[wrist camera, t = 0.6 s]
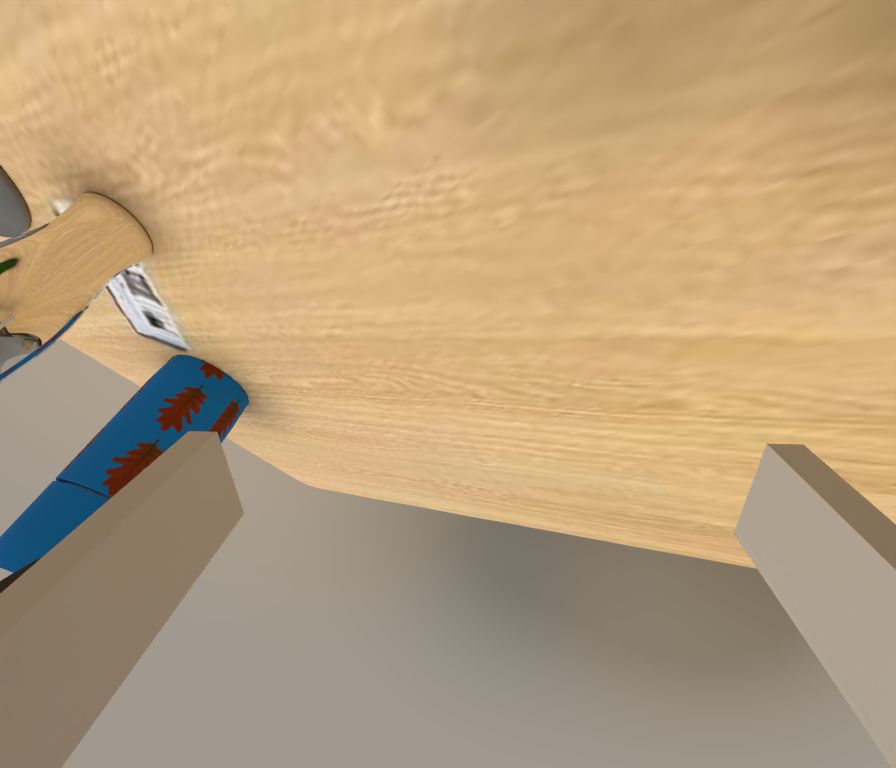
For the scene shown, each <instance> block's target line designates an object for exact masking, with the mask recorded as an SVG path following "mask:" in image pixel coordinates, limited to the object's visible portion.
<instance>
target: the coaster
mask: <svg viewBox="0 0 896 768" xmlns="http://www.w3.org/2000/svg"><path fill="white" fill-rule="evenodd" d="M30 225H31V216H30V212H29V209H28V207H27V205H26V202H25V200H24V199H23V197H22V195H21V193H20V192H19V190H18V189H17V187H16V186H15V184H14V183H13V182H12V180H11V179H10V178H9V176H8V175H7V174H6V173H5V171H4V170H3V169H2V168H1V167H0V236H3V237H16V236H19V235H20V234H22V233H24V232H25V231H27V230H28V229H29V228H30Z"/></svg>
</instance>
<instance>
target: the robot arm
mask: <svg viewBox="0 0 896 768" xmlns="http://www.w3.org/2000/svg"><path fill="white" fill-rule="evenodd" d="M243 514H244V512H243V509H242V506H241V503H240V500H239V497H238V494H237V491H236V488H235V485H234V482H233V479H232V475H231V473H230V469H229V466H228V464H227V460H226V457H225V454H224V451H223V448H222V445H221V442H220V439H219V436H218V433H217V432H204V431H188V432H187V433H186V434H185V435H184V436H183V437H181V438H180V439H179V440H178V441H177V442H176V443H174V444H173V445H172V446H171V447H170V448H169V449H168V450H166V451H165V452H164V453H163V454H162V455H161V456H159V457H158V458H157V459H156V460H155V461H154V462H152V463H151V464H150V465H149V466H148V467H147V468H145V469H144V470H143V471H142V472H141V473H140V474H139V475H137V476H136V477H135V478H134V479H133V480H132V481H130V482H129V483H128V484H127V485H126V486H125V487H123V488H122V489H121V490H120V491H119V492H118V493H116V494H115V495H114V496H113V497H112V498H111V499H109V500H108V501H107V502H106V503H105V504H104V505H103V506H101V507H100V508H99V509H98V510H97V511H96V512H94V513H93V514H92V515H91V516H90V517H89V518H87V519H86V520H85V521H84V522H83V523H82V524H80V525H79V526H78V527H77V528H76V529H75V530H73V531H72V532H71V533H70V534H69V535H68V536H67V537H65V538H64V539H63V540H62V541H61V542H60V543H58V544H57V545H56V546H55V547H54V548H53V549H51V550H50V551H49V552H48V553H47V554H46V555H44V556H43V557H42V558H38V559H36V560H34V561H33V562H31V563H29V564H28V565H26V566H25V567H23V568H21V569H20V570H18V571H16V572H15V573H13V574H11V575H10V576H8V577H6V578H5V579H3V580H1V581H0V768H61V767H62V766H63V765H64V764H65V762H66V761H67V759H68V758H69V756H70V755H71V754H72V752H73V751H74V750H75V748H76V747H77V746H78V744H79V743H80V741H81V740H82V739H83V737H84V736H85V734H86V733H87V732H88V730H89V729H90V727H91V726H92V725H93V723H94V722H95V720H96V719H97V718H98V716H99V715H100V713H101V712H102V711H103V709H104V708H105V707H106V705H107V704H108V702H109V701H110V700H111V698H112V697H113V695H114V694H115V693H116V691H117V690H118V688H119V687H120V686H121V684H122V683H123V681H124V680H125V679H126V677H127V676H128V675H129V673H130V672H131V670H132V669H133V668H134V666H135V665H136V663H137V662H138V660H139V659H140V658H141V656H142V655H143V654H144V652H145V651H146V649H147V648H148V647H149V645H150V644H151V642H152V641H153V640H154V638H155V637H156V635H157V634H158V633H159V631H160V630H161V628H162V627H163V626H164V624H165V623H166V622H167V620H168V619H169V617H170V616H171V615H172V613H173V612H174V610H175V609H176V608H177V606H178V605H179V603H180V602H181V601H182V599H183V598H184V597H185V595H186V594H187V592H188V591H189V590H190V588H191V587H192V585H193V584H194V583H195V581H196V580H197V579H198V577H199V576H200V574H201V573H202V571H203V570H204V569H205V567H206V566H207V565H208V563H209V562H210V560H211V559H212V558H213V556H214V555H215V553H216V552H217V551H218V549H219V548H220V546H221V545H222V544H223V542H224V541H225V540H226V538H227V537H228V535H229V534H230V533H231V531H232V530H233V528H234V527H235V526H236V524H237V523H238V521H239V520H240V519H241V517H242V516H243ZM734 535H735V536H736V538H737V539H738V541H739V542H740V544H741V545H742V547H743V548H744V550H745V551H746V553H747V554H748V556H749V557H750V558H751V560H752V561H753V563H754V564H755V566H756V567H757V569H758V570H759V572H760V573H761V575H762V576H763V578H764V579H765V581H766V582H767V584H768V585H769V586H770V588H771V590H772V591H773V592H774V594H775V595H776V597H777V598H778V600H779V601H780V602H781V604H782V606H783V607H784V609H785V610H786V612H787V613H788V615H789V616H790V618H791V619H792V621H793V622H794V624H795V625H796V627H797V628H798V630H799V631H800V632H801V634H802V635H803V637H804V638H805V640H806V641H807V643H808V644H809V646H810V647H811V649H812V650H813V652H814V653H815V655H816V656H817V658H818V659H819V661H820V662H821V664H822V665H823V666H824V668H825V669H826V671H827V672H828V674H829V675H830V677H831V678H832V680H833V681H834V683H835V684H836V686H837V687H838V688H839V690H840V692H841V693H842V695H843V696H844V698H845V699H846V701H847V702H848V703H849V705H850V706H851V708H852V709H853V711H854V712H855V714H856V715H857V717H858V718H859V719H860V721H861V723H862V724H863V726H864V727H865V729H866V730H867V732H868V733H869V734H870V736H871V738H872V739H873V741H874V742H875V743H876V745H877V746H878V748H879V749H880V750H881V752H882V754H883V755H884V757H885V758H886V760H887V761H888V763H889V764H890V766H891V767H892V768H896V525H895V524H894V523H893V522H892V521H891V520H890V519H889V518H887V517H886V516H885V515H884V514H883V513H882V512H880V511H879V510H878V509H877V508H876V507H875V506H874V505H872V504H871V503H870V502H869V501H868V500H867V499H866V498H864V497H863V496H862V495H861V494H860V493H859V492H857V491H856V490H855V489H854V488H853V487H852V486H851V485H849V484H848V483H847V482H846V481H845V480H844V479H842V478H841V477H840V476H839V475H838V474H837V473H836V472H834V471H833V470H832V469H831V468H830V467H829V466H827V465H826V464H825V463H824V462H823V461H822V460H821V459H819V458H818V457H817V456H816V455H815V454H814V453H812V452H811V451H810V450H809V449H808V448H807V447H806V446H804V445H801V444H767V445H766V447H765V450H764V453H763V456H762V458H761V461H760V464H759V466H758V469H757V472H756V474H755V477H754V480H753V483H752V485H751V488H750V491H749V493H748V496H747V499H746V502H745V504H744V507H743V510H742V512H741V515H740V518H739V521H738V523H737V526H736V529H735V531H734Z"/></svg>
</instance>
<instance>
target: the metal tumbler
mask: <svg viewBox="0 0 896 768" xmlns="http://www.w3.org/2000/svg"><path fill="white" fill-rule="evenodd" d="M151 254H152V243H151V240H150V238H149V236H148V234H147V233H146V231H145V230H144V228H143V227H142V226H141V225H140V223H139V222H138V221H137V220H136V219H135V218H134V217H133V216H132V215H131V214H130V213H129V212H128V211H126V210H125V209H124V208H123V207H121V206H120V205H119V204H117V203H116V202H114V201H112V200H111V199H109V198H107V197H105V196H102V195H100V194H96V193H91V192H87V193H83V194H81V195H80V196H79V197H78V198H76V200H75V201H74V202H73V203H72V204H71V205H70V206H69V207H68V208H67V209H66V210H65V211H64V212H63V213H62V214H61V215H60V216H58V217H57V218H55V219H54V220H52V221H51V222H49V223H47V224H46V223H45V225H43V226H41V227H39V228H37V229H34V230H32V231H29V232H27V233H24V234H21V235H19V236H16V237H13V238H10V239H8V240H5V241H2V242H0V384H1V383H2V382H3V381H4V380H5V379H7V378H8V377H9V376H11V375H12V374H14V373H15V372H17V371H18V370H19V369H21V368H22V367H24V366H25V365H27V364H28V363H29V362H31V361H32V360H34V359H35V358H37V357H38V356H39V355H41V354H42V353H43V352H44V351H46V350H47V349H48V348H50V347H51V346H52V345H53V344H55V343H56V342H57V341H58V340H59V339H60V338H61V337H62V336H63V335H65V334H66V333H67V332H68V331H69V330H70V329H71V328H72V327H73V325H74V324H75V323H76V322H77V321H78V320H79V319H80V318H81V316H82V315H83V314H84V313H85V312H86V310H87V309H88V308H89V307H90V305H91V304H92V303H93V302H94V300H95V299H96V298H97V297H98V295H99V294H100V293H101V292H102V290H103V289H104V288H105V287H106V286H107V284H108V283H109V282H110V281H111V280H113V279H114V278H115V277H116V276H117V275H118V274H120V273H121V272H123V271H124V270H126V269H127V268H129V267H131V266H133V265H135V264H137V263H139V262H141V261H143V260H145V259H147V258H148V257H149V256H150V255H151Z"/></svg>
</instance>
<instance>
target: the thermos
mask: <svg viewBox="0 0 896 768" xmlns="http://www.w3.org/2000/svg"><path fill="white" fill-rule="evenodd" d="M248 403H249V401H248V397H247V394H246V393H245V392H244V390H243V389H242V387H241V386H240V385H239V384H237V383H236V382H235V381H234V380H233V379H232V378H231V377H230V376H228V375H227V374H225V373H224V372H222V371H221V370H219V369H218V368H216V367H214V366H212V365H210V364H208V363H207V362H205V361H203V360H200V359H197V358H194V357H191V356H183V355H177V356H175V357H173V358H171V359H170V360H169V361H168V362H167V363H166V364H165V365H164V366H163V367H162V368H161V369H160V370H159V371H158V372H157V373H155V374H154V375H153V376H152V377H151V378H150V379H149V380H148V381H147V382H146V383H145V384H144V385H143V386H142V387H141V389H140V390H139V391H138V392H137V393H136V394H135V395H134V396H133V397H132V398H131V399H130V400H129V401H128V402H127V403H126V405H124V407H123V408H122V409H121V410H120V411H119V412H118V413H117V414H116V415H115V416H114V417H113V418H112V419H111V420H110V421H109V422H108V423H107V425H106V426H105V427H104V428H103V429H102V430H101V431H100V432H99V433H98V434H97V435H96V436H95V437H94V438H93V439H92V441H90V443H89V444H88V445H87V446H86V447H85V448H84V449H83V450H82V451H81V452H80V453H79V454H78V455H77V456H76V457H75V458H74V459H73V461H72V462H71V463H70V464H69V465H68V466H67V467H66V468H65V469H64V470H63V471H62V472H61V473H60V474H59V475H58V476H57V477H56V480H57V481H53V482H52V483H51V484H50V485H49V486H48V487H47V488H46V489H45V490H44V491H43V492H42V493H41V494H40V496H38V498H37V499H36V500H35V501H34V502H33V503H32V504H31V505H30V506H29V507H28V508H27V509H26V510H25V511H24V512H23V513H22V514H21V516H20V517H19V518H18V519H17V520H16V521H15V522H14V523H13V524H12V525H11V526H10V527H9V528H8V529H7V530H6V531H5V533H4V534H3V535H2V536H1V537H0V568H3V569H6V570H8V571H10V572H13V573H15V572H16V571H18V570H20V569H21V568H23V567H25V566H26V565H28V564H29V563H31V562H33V561H34V560H36V559H38V558H42V557H43V556H44V555H46V554H47V553H48V552H49V551H50V550H51V549H53V548H54V547H55V546H56V545H57V544H58V543H60V542H61V541H62V540H63V539H64V538H65V537H67V536H68V535H69V534H70V533H71V532H72V531H73V530H75V529H76V528H77V527H78V526H79V525H80V524H82V523H83V522H84V521H85V520H86V519H87V518H89V517H90V516H91V515H92V514H93V513H94V512H96V511H97V510H98V509H99V508H100V507H101V506H103V505H104V504H105V503H106V502H107V501H108V500H109V499H111V498H112V497H113V496H114V495H115V494H116V493H118V492H119V491H120V490H121V489H122V488H123V487H125V486H126V485H127V484H128V483H129V482H130V481H132V480H133V479H134V478H135V477H136V476H137V475H139V474H140V473H141V472H142V471H143V470H144V469H145V468H147V467H148V466H149V465H150V464H151V463H152V462H154V461H155V460H156V459H157V458H158V457H159V456H161V455H162V454H163V453H164V452H165V451H166V450H168V449H169V448H170V447H171V446H172V445H173V444H174V443H176V442H177V441H178V440H179V439H180V438H181V437H183V436H184V435H185V434H186V433H187V432H188V431H204V432H217V433H218V436H219V439H220V442H221V443H222V441H223V440H224V438H225V437H226V436H227V435H228V433H229V432H230V430H231V429H232V428H233V426H234V425H235V423H236V421H237V420H238V418H239V417H240V415H241V414H242V412H243V410H244V409H245V407H246V406H247V404H248Z"/></svg>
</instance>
